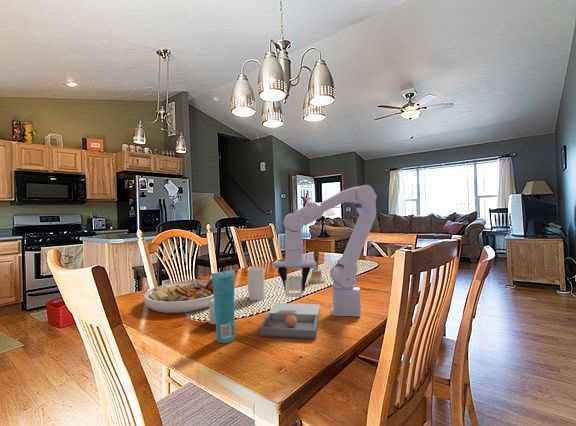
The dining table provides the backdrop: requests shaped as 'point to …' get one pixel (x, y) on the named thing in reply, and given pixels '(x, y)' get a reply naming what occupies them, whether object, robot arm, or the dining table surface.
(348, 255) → the robot arm
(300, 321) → the tray
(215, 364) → the dining table surface
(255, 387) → the dining table surface
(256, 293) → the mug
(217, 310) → the tube
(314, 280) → the hand bell
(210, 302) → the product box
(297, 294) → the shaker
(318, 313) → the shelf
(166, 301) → the bowl
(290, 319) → the ball
